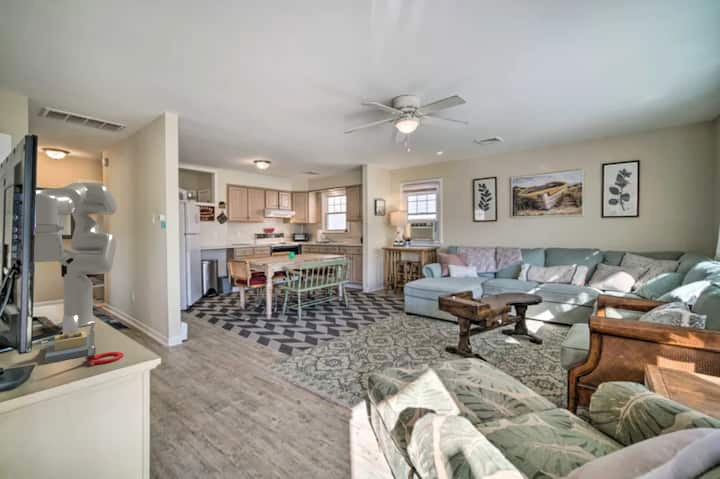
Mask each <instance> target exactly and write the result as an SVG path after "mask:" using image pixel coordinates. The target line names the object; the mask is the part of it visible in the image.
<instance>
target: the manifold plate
mask: <svg viewBox="0 0 720 479" xmlns="http://www.w3.org/2000/svg"><path fill="white" fill-rule="evenodd" d="M89 336H90V334H87V332H86V330H85V331H78V337H76V338H70V339H64V340H63V334H58V335H54V340H51V341H47V342H46V348H45V349H46V350H45V357H44V358H45V359H44V360H45V362H44V364H50V363H54V362H55V363H56V362H59V361H64V360H70V359H75V358H80V357H87V355H88V347H89ZM94 355H96V344H95V343H94Z"/></svg>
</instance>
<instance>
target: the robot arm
mask: <svg viewBox="0 0 720 479" xmlns="http://www.w3.org/2000/svg"><path fill="white" fill-rule="evenodd" d="M35 191H36V227H35V262H34V263H45V262H46V263H48V262H50V263H51V262H59V264H60V268H61V269H60V271H61V278H62V279H63V280H62V281H63V317H64V316H68V315H78V328H81V327H86V326H91V323H92V322H94V324H96V323H97V322H98V318H96V317H94V316H93V315H94V314H93V311H94V310H93V307H94V306H93V305H94V302H93V301H94V300H93V293H94V292H93V288H94V287H93V285H94V284H93V282H92V280H91V279H90V278H89V277H88V276H87V275H101V274H102V275H103V274H104V275H105V274H108V273H110V272H111V270H112V269H113V266H114V261H115V260H114V258H115V254H116V249H117V248H116V247H117V239H116V237H115V235H114V234H112V233H110V232H99V231H100V224H99V223H98V221H97V220H96V219H95V218H93V217H92V216H91V215H96V216H98V215H99V216H111V215H114V214H115V213H116V212H117V208H118V206H117V205H118V204H117V201H116V200H115V198H114V196H113V194H112V192H111V191H110V190H109V188H108V187H107V186H106V185H104V184H101V183H91V182H89V183H88V182H74V183H71V184H69V185H66V186H63V187H54V188H47V189H37V190H35ZM71 214H72V217H73V220H74V223H75V224H74V225H75V227H74V231H73V234H72V237H71V238H72V239H71V242H70V248H71V250H72V251H71V250H69V249H66V248H64V242H63V237H62V236H63V235H62V233H59V232H60V231H64V226H61V225H59V217H60V216H68V215H71ZM8 255H9V254H7V255H6V259H7V260H8ZM58 327H59V328H61V329H63V321H62V322H60V323H58Z"/></svg>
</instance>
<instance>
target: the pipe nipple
mask: <svg viewBox="0 0 720 479" xmlns="http://www.w3.org/2000/svg"><path fill="white" fill-rule="evenodd" d="M62 322H63V328H62V335H63V340H64V339H70V338H76V337H78V332H79V327H78V315H68V316H64V315H63V316H62Z"/></svg>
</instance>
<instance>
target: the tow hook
mask: <svg viewBox="0 0 720 479" xmlns="http://www.w3.org/2000/svg"><path fill="white" fill-rule="evenodd" d="M95 330H96V329H95V323H94V322H92V323H91V325H90V329H89V335H90V336H89V347H88V355H86V356H85V361H86V363H87V364H88V365H89V366H90V367H94V366H95V365H99V364H107V363H113V361H114V362H116V360H117V361H119V360H121V359H123V358H124V352H120V351H109V352H103V353H98V354H94V344H95V332H96V331H95ZM113 355H116V356H113ZM108 356H109V357H111V356H113V357H111V358H106V359H100V358H104V357H108ZM122 357H123V358H122ZM120 358H121V359H120Z"/></svg>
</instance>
